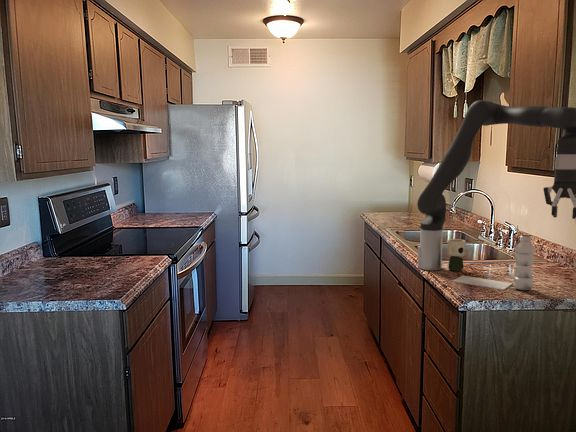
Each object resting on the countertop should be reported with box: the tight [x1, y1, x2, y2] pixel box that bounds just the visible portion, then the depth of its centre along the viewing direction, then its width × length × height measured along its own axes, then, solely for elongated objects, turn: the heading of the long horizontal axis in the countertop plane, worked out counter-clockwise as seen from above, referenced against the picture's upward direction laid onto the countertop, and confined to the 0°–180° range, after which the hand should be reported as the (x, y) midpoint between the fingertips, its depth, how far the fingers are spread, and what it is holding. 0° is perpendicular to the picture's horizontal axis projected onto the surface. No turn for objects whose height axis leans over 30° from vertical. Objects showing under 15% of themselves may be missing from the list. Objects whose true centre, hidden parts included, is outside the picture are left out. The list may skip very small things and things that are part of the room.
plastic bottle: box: [512, 234, 535, 291], centre depth 172 cm, size 6×7×20 cm
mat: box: [452, 275, 513, 291], centre depth 183 cm, size 19×10×1 cm, turn 49°
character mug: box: [447, 238, 467, 272], centre depth 202 cm, size 11×7×13 cm, turn 133°
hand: (564, 217), depth 162 cm, fingers open, 5 cm apart
